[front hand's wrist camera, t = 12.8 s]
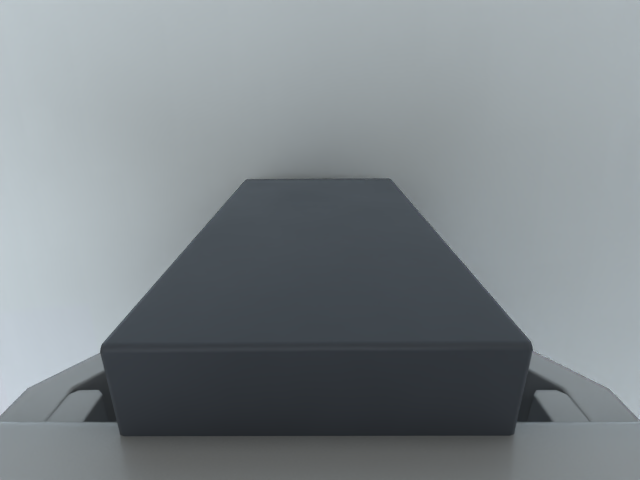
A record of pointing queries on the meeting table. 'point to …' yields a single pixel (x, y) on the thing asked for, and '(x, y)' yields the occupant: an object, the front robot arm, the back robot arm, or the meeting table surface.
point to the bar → (317, 326)
